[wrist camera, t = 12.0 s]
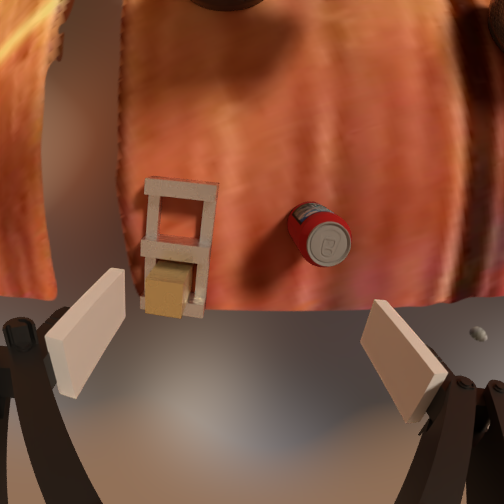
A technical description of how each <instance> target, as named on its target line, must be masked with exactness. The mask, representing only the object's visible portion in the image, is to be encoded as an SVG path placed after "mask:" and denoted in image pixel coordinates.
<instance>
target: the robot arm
mask: <svg viewBox="0 0 504 504" xmlns="http://www.w3.org/2000/svg"><path fill="white" fill-rule="evenodd" d="M191 1H192V2H194V3H195V4H197V5H199V6H201V7H204V8H207V9H211V10H217V11H234V10H240V9H245V8H248V7H251V6H253V5H256V4H258V3H259V2H261V1H263V0H191ZM124 271H125V270H123V269H117V268H110V269H109V270H108V271H107V272H106V273H105V274H104V275H103V276H102V277H101V278H100V279H99V280H98V281H97V282H96V283H95V284H94V285H93V286H92V287H91V288H90V289H89V290H88V291H87V292H86V293H85V294H84V295H83V296H82V297H81V298H80V299H79V300H78V301H77V302H76V303H75V304H74V305H73V306H72V307H71V308H70V307H63V308H60V309H58V310H56V311H55V312H54V313H53V314H52V315H51V316H50V318H48V319H47V320H46V321H45V323H43V324H42V325H41V326H40V327H39V328H38V329H37V330H36V327H35V324H34V322H33V321H32V320H31V319H29V318H25V317H17V318H13V319H11V320H9V321H7V322H6V323H5V324H4V325H3V333H4V337H5V340H6V344H7V346H0V504H8V497H7V476H6V475H7V474H6V473H7V470H6V457H7V432H8V417H9V408H10V399H11V398H15V402H16V406H17V412H18V416H19V421H20V425H21V429H22V433H23V437H24V441H25V444H26V447H27V451H28V454H29V458H30V461H31V464H32V467H33V470H34V473H35V476H36V479H37V482H38V484H39V487H40V489H41V492H42V495H43V497H44V500H45V502H46V504H103V503H102V502H101V500H100V498H99V497H98V495H97V493H96V491H95V489H94V487H93V486H92V484H91V482H90V480H89V478H88V476H87V474H86V472H85V470H84V468H83V466H82V464H81V462H80V459H79V457H78V455H77V453H76V451H75V448H74V446H73V444H72V442H71V439H70V437H69V434H68V432H67V430H66V427H65V424H64V422H63V420H62V417H61V414H60V411H59V409H58V406H57V403H56V400H55V397H54V394H53V391H52V389H53V388H54V386H55V384H56V383H57V386H58V389H59V393H60V394H62V395H65V396H68V397H71V398H74V399H77V397H78V395H79V393H80V392H81V390H82V388H83V386H84V385H85V383H86V381H87V379H88V378H89V376H90V374H91V372H92V371H93V369H94V367H95V366H96V364H97V362H98V361H99V359H100V357H101V356H102V354H103V352H104V351H105V349H106V347H107V346H108V344H109V343H110V341H111V339H112V338H113V336H114V335H115V333H116V331H117V330H118V328H119V327H120V325H121V323H122V322H123V320H124V319H125V317H126V313H125V272H124ZM360 343H361V345H362V346H363V348H364V350H365V352H366V353H367V355H368V356H369V358H370V360H371V362H372V364H373V365H374V367H375V369H376V371H377V372H378V374H379V376H380V378H381V379H382V381H383V383H384V385H385V387H386V388H387V390H388V392H389V394H390V395H391V397H392V399H393V401H394V403H395V405H396V406H397V408H398V410H399V412H400V414H401V416H402V417H403V419H404V421H405V423H406V424H409V423H415V422H419V421H420V420H421V419H422V417H423V416H424V414H425V412H427V414H428V415H429V419H428V421H427V422H426V424H425V425H424V427H423V428H422V429H421V431H420V432H419V434H418V435H421V434H422V436H421V439H420V442H419V445H418V448H417V451H416V453H415V456H414V459H413V461H412V464H411V466H410V469H409V471H408V474H407V476H406V479H405V481H404V483H403V486H402V488H401V490H400V492H399V494H398V497H397V499H396V501H395V503H394V504H460V503H461V499H462V495H463V491H464V487H465V482H466V495H467V504H504V383H503V382H501V381H497V380H491V381H489V383H488V384H487V386H486V388H485V389H482V388H476V385H475V384H474V382H473V381H471V380H470V379H469V378H467V377H464V376H455V375H454V374H453V373H452V371H451V370H450V369H449V368H448V367H447V365H446V364H445V363H444V362H442V359H441V358H440V357H438V355H437V354H436V352H435V351H434V350H433V349H432V348H430V347H429V346H427V345H426V344H424V343H423V342H422V341H421V339H420V338H419V337H418V336H417V335H416V334H415V333H414V331H413V330H412V329H411V328H410V327H409V326H408V324H407V323H406V322H405V321H404V320H403V319H402V318H401V317H400V315H399V314H398V313H397V312H396V311H395V310H394V309H393V308H392V306H391V305H390V304H389V303H388V302H387V301H386V300H376V299H374V301H373V305H372V308H371V311H370V314H369V317H368V320H367V323H366V326H365V329H364V332H363V335H362V338H361V341H360ZM489 424H490V426H489V429H487V427H488V425H489Z"/></svg>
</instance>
